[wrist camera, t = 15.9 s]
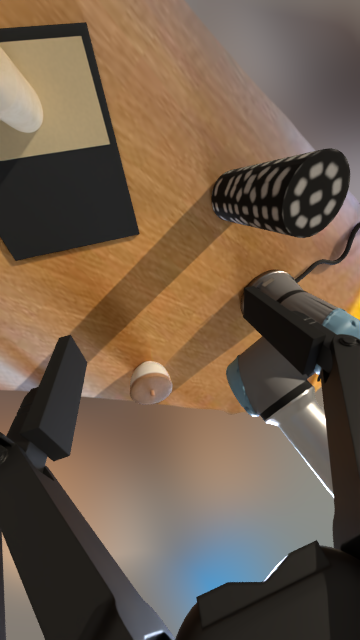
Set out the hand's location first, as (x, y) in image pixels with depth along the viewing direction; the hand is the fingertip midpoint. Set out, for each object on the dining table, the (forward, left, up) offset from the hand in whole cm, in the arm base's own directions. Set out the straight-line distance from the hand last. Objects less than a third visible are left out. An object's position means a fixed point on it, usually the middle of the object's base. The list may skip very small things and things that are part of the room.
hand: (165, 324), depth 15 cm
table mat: (+10, -14, -29) cm, 33 cm away
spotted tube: (-20, -5, -29) cm, 35 cm away
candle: (+10, -20, -28) cm, 36 cm away
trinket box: (+6, +33, -29) cm, 44 cm away
